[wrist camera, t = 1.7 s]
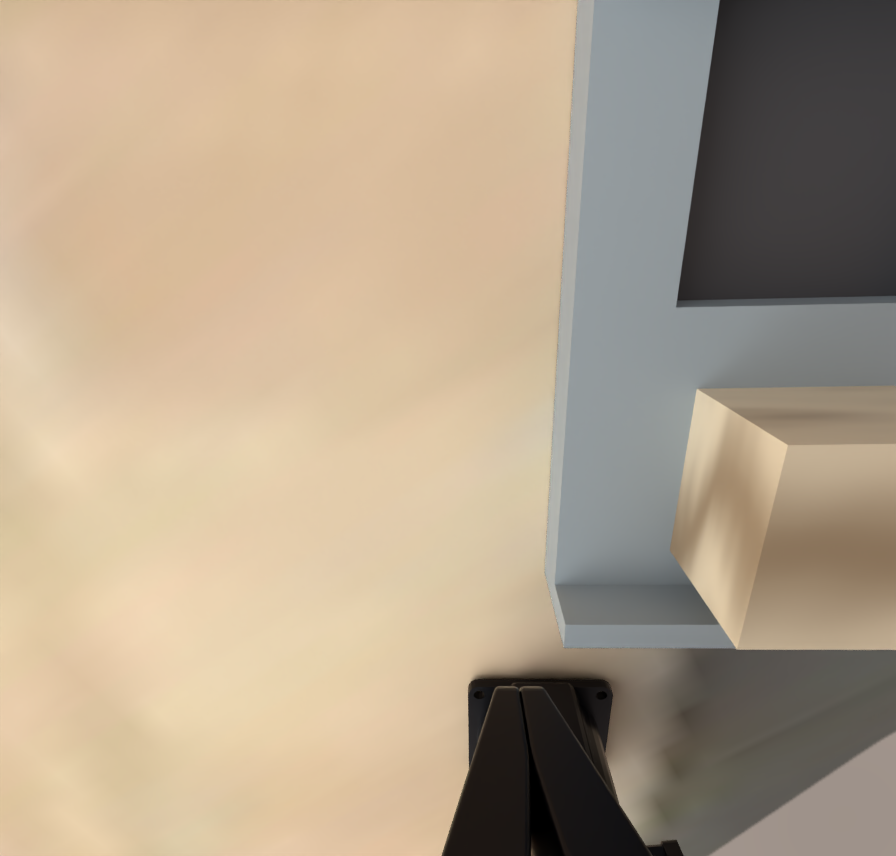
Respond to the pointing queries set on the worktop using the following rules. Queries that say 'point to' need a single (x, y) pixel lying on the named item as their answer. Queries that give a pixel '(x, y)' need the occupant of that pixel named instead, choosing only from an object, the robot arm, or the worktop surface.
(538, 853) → the robot arm
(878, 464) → the maple block
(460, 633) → the worktop surface
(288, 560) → the worktop surface
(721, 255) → the board
